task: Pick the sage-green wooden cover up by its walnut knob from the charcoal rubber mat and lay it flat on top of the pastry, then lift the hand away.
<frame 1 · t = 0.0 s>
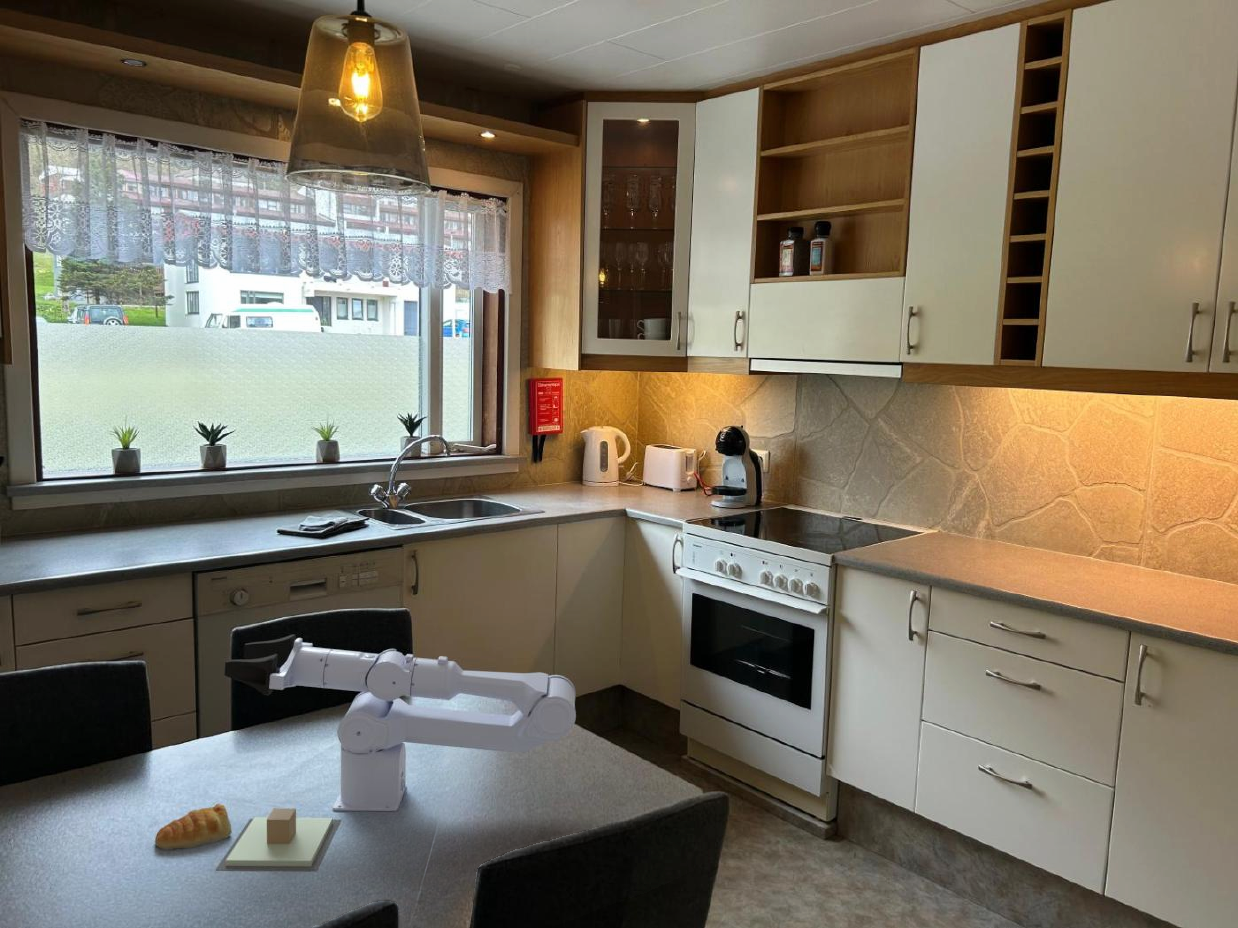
hand: (235, 659, 135), 22 cm above the table, tool horizontal, fingers open, 7 cm apart
pastry: (198, 839, 127), on the table
mat: (281, 844, 126), on the table
cover: (281, 843, 126), resting on mat
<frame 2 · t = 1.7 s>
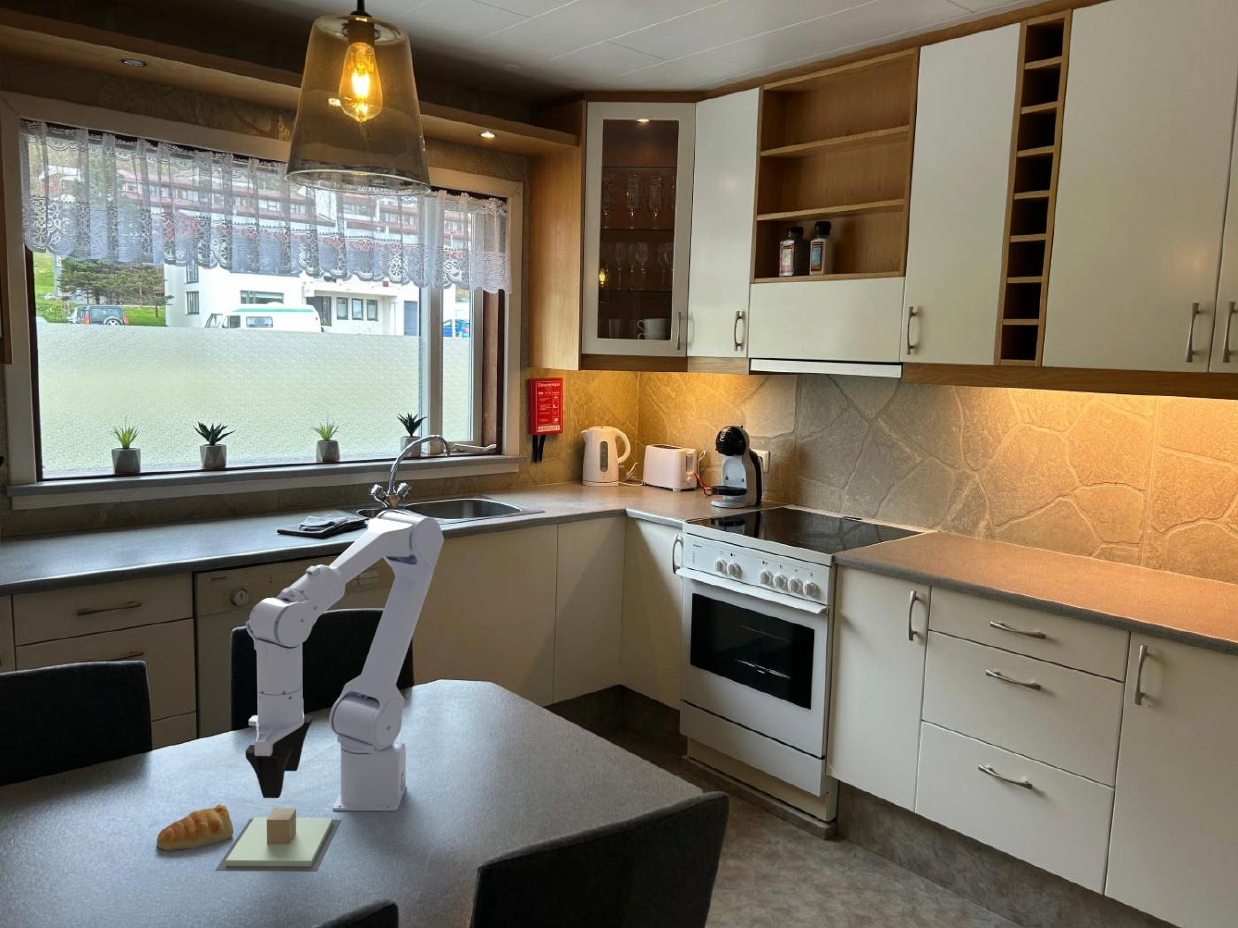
hand: (280, 783, 124), 9 cm above the table, tool pointing down, fingers open, 7 cm apart
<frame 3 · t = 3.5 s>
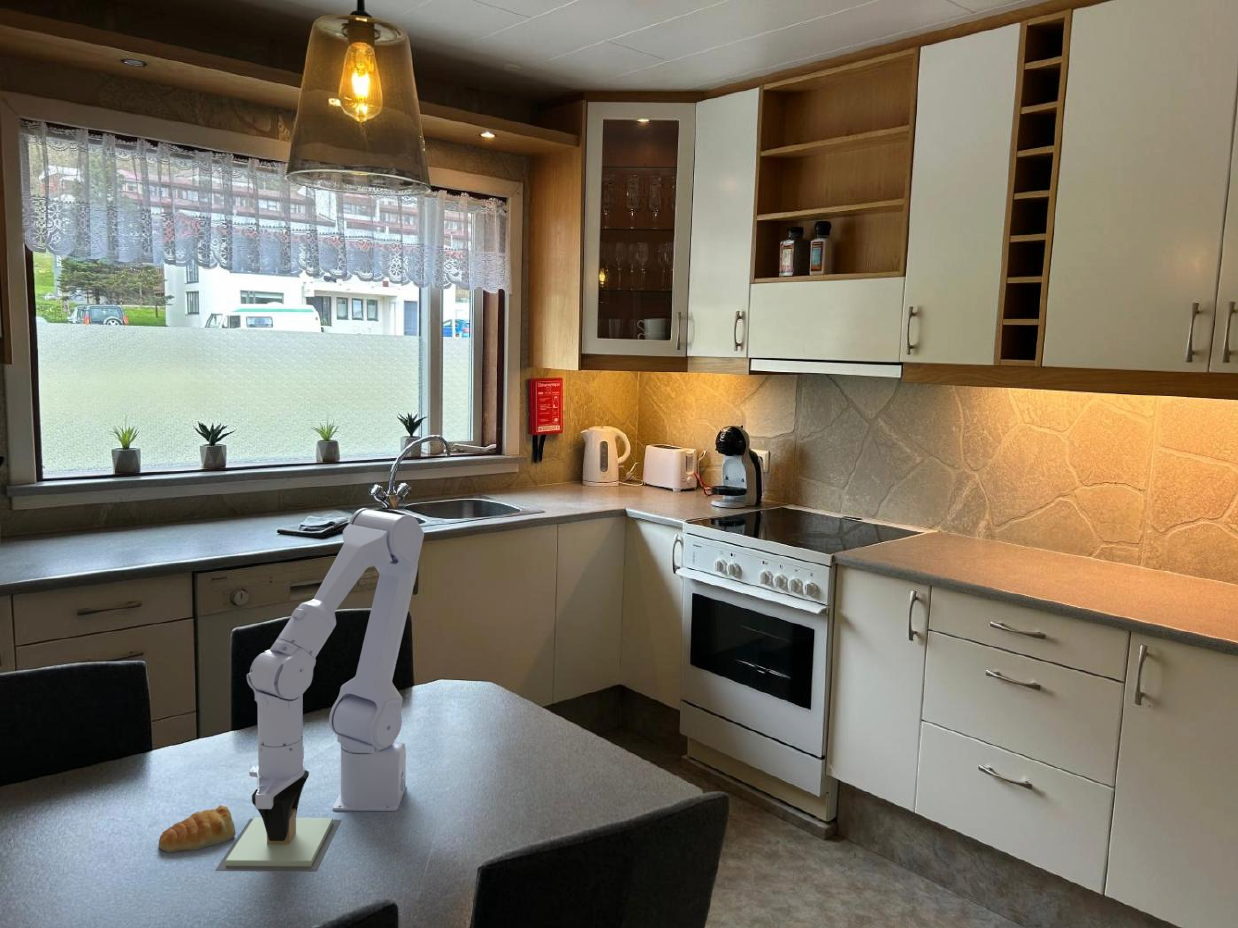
hand: (281, 832, 125), 2 cm above the table, tool pointing down, fingers closed on cover, 3 cm apart
cover: (281, 843, 126), resting on mat, touching gripper
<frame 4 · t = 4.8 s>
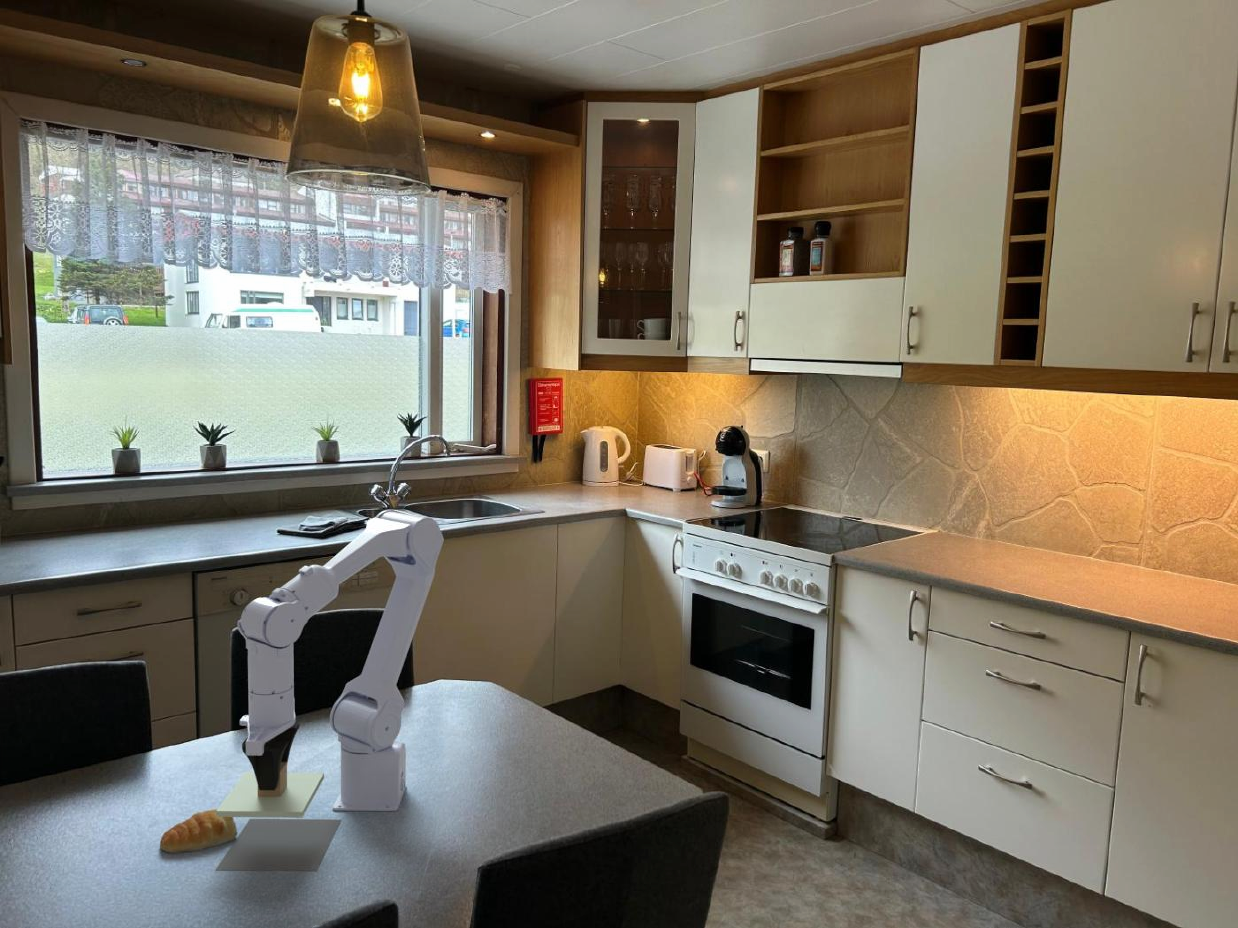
hand: (272, 782, 124), 9 cm above the table, tool pointing down, fingers closed on cover, 3 cm apart
cover: (272, 796, 125), point 7 cm above the table, touching gripper
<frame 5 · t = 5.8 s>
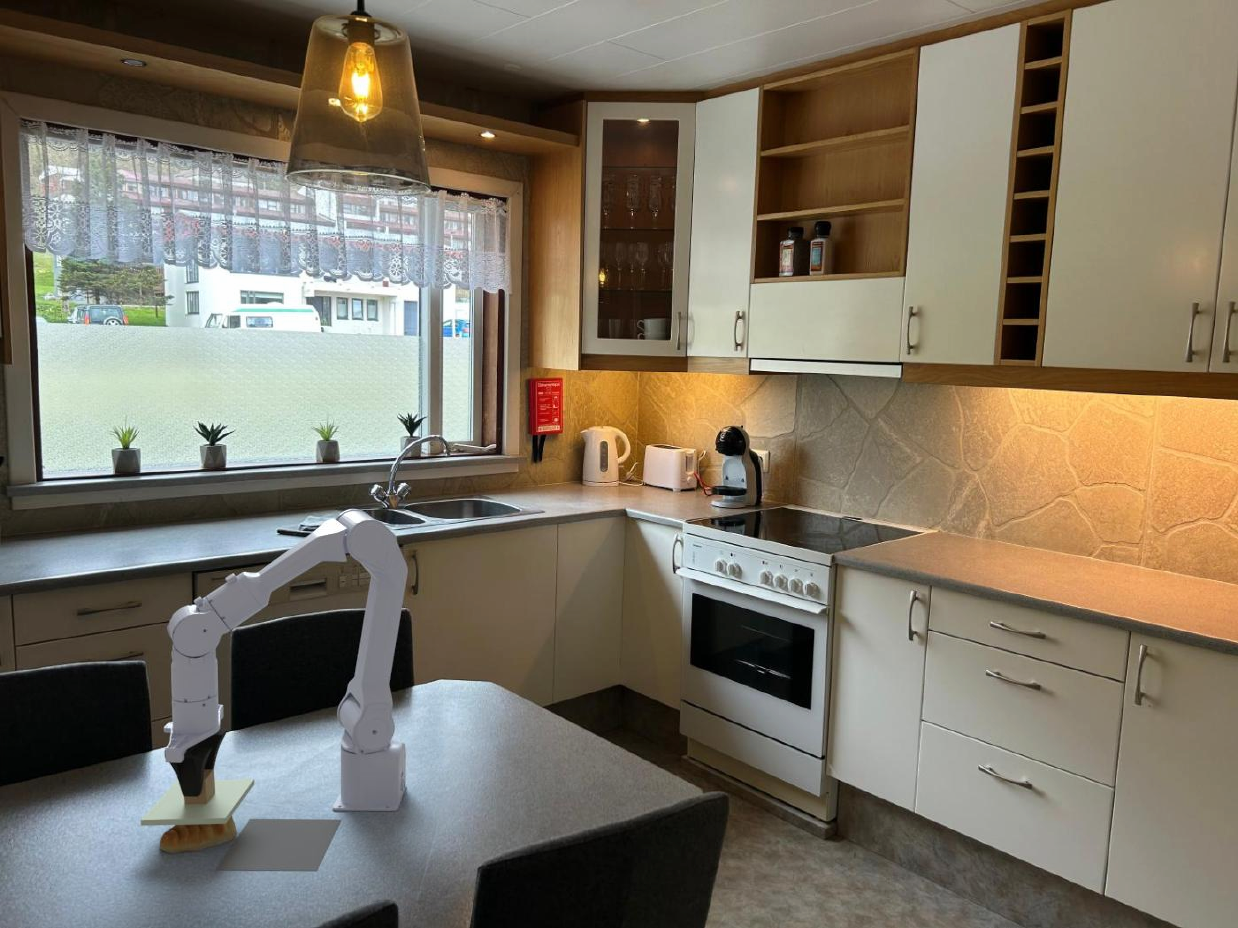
hand: (197, 788, 126), 7 cm above the table, tool pointing down, fingers closed on cover, 3 cm apart
cover: (200, 803, 126), point 5 cm above the table, touching gripper
when the fingers open (7 cm above the table, at t = 6.5 s): cover drops 1 cm, resting on pastry.
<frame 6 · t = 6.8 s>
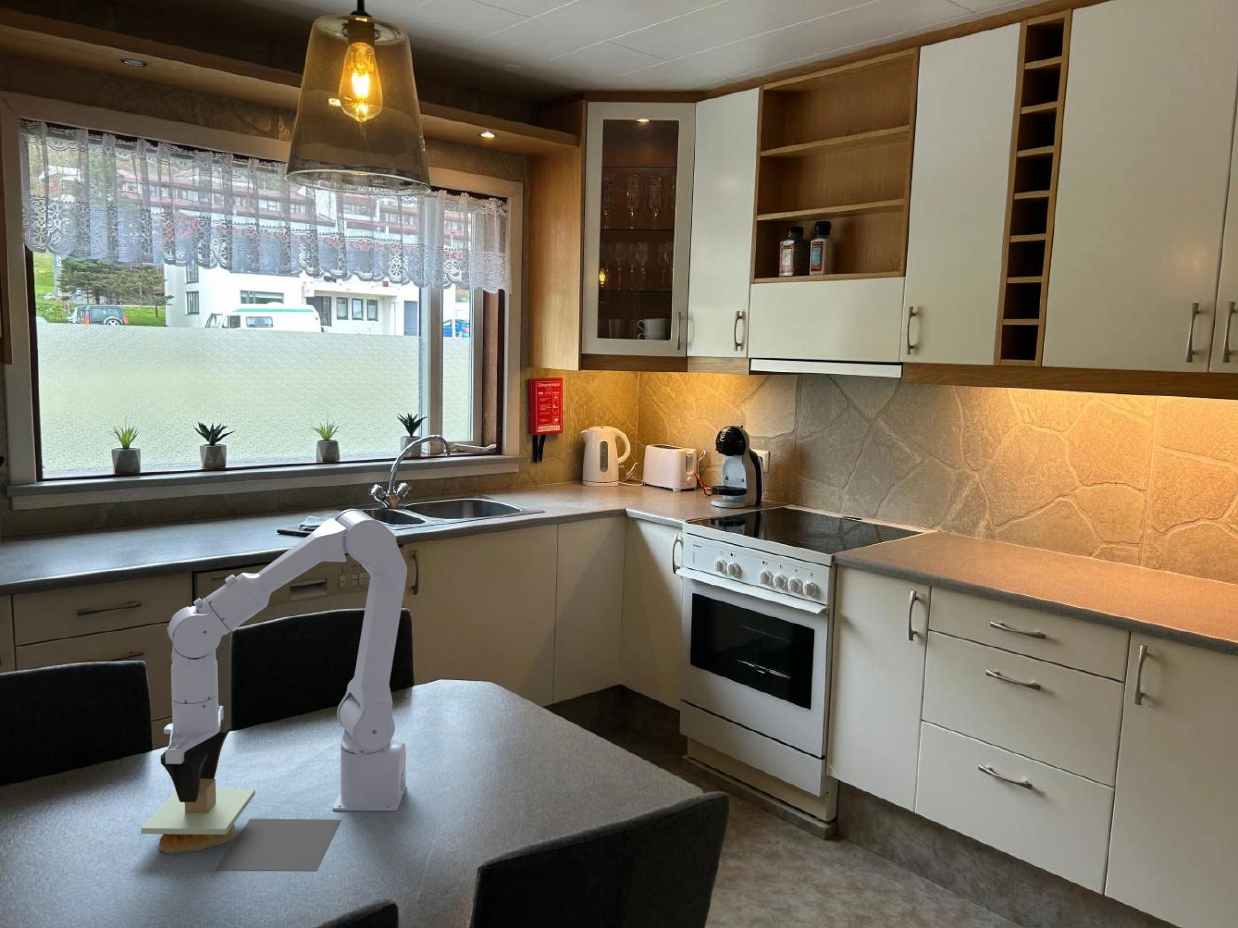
hand: (197, 790, 126), 7 cm above the table, tool pointing down, fingers open, 5 cm apart
pastry: (202, 843, 126), on the table, touching cover
cover: (200, 813, 126), point 3 cm above the table, touching pastry
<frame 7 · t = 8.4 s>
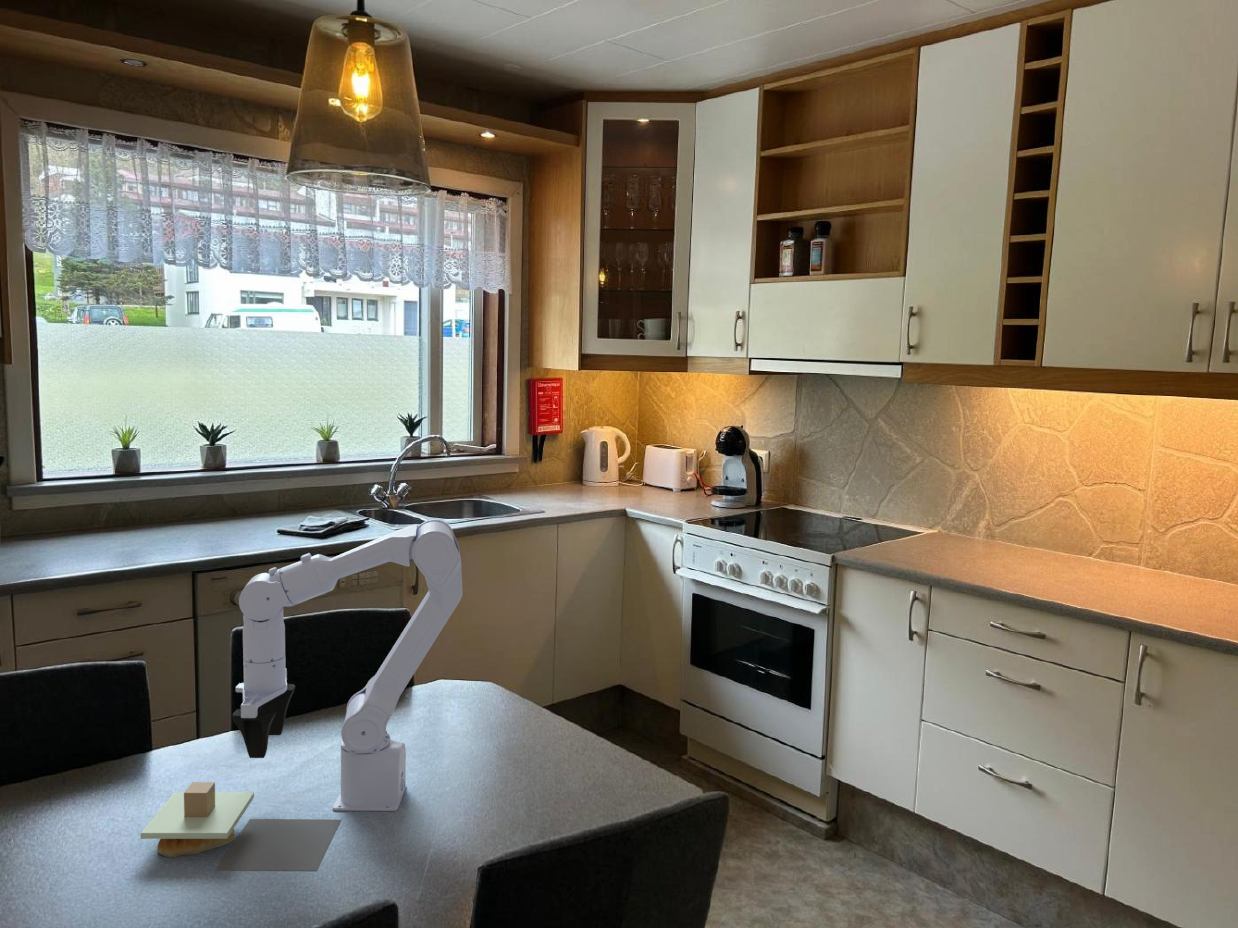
hand: (266, 745, 135), 9 cm above the table, tool pointing down, fingers open, 7 cm apart
cover: (200, 816, 125), point 4 cm above the table, touching pastry
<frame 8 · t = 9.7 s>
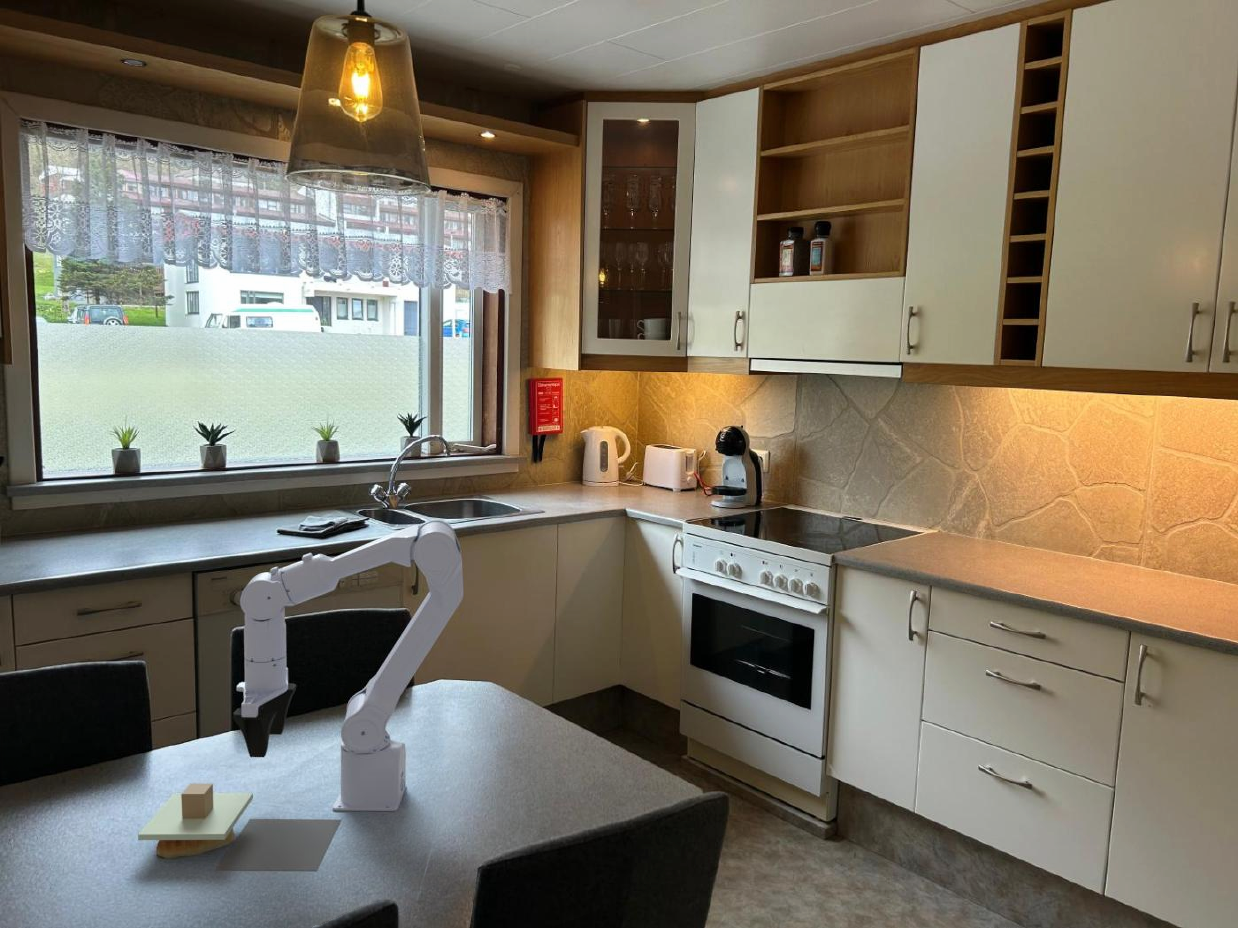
hand: (266, 744, 135), 9 cm above the table, tool pointing down, fingers open, 7 cm apart
pastry: (200, 847, 125), on the table
cover: (198, 818, 125), point 4 cm above the table
at the end: cover 0.5 cm from the pastry (horizontally); cover point 3.5 cm above the table; the gripper is holding nothing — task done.
